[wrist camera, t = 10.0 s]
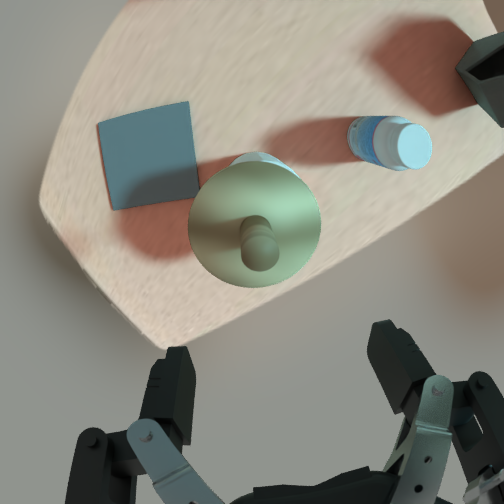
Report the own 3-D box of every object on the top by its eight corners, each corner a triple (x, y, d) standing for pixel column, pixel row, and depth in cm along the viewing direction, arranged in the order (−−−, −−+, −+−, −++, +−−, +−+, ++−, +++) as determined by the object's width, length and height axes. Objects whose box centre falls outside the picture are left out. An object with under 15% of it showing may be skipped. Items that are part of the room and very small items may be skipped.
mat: (100, 122, 29) (98, 122, 28) (188, 101, 29) (188, 101, 28) (115, 209, 34) (113, 210, 33) (200, 195, 34) (200, 196, 33)
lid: (180, 169, 23) (163, 183, 18) (315, 156, 23) (340, 166, 18) (201, 286, 28) (194, 325, 23) (316, 274, 28) (334, 309, 23)
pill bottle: (352, 165, 33) (397, 183, 23) (340, 121, 31) (383, 121, 21) (389, 155, 33) (440, 170, 23) (379, 112, 30) (430, 112, 20)
